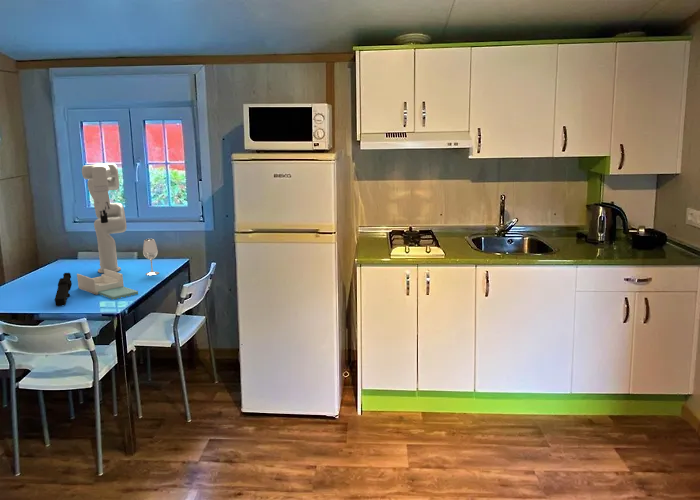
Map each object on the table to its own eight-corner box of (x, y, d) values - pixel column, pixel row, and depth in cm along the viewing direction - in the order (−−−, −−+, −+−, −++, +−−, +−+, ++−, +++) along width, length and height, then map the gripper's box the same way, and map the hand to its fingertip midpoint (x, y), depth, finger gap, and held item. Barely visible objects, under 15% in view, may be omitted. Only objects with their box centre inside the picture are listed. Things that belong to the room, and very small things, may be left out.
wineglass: (155, 275, 341) (152, 241, 336) (142, 275, 342) (139, 240, 338) (162, 272, 348) (159, 238, 344) (149, 272, 350) (146, 238, 346)
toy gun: (75, 286, 309) (72, 269, 304) (68, 313, 288) (65, 296, 284) (63, 287, 308) (60, 270, 303) (56, 314, 287) (52, 297, 282)
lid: (98, 295, 304) (98, 291, 304) (123, 289, 314) (122, 286, 313) (113, 300, 294) (113, 296, 293) (138, 295, 303) (138, 291, 302)
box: (78, 288, 317) (76, 273, 315) (106, 282, 327) (104, 268, 326) (95, 294, 303) (94, 279, 302) (123, 288, 314) (122, 274, 312)
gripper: (87, 189, 325) (91, 222, 329) (100, 190, 315) (104, 224, 319) (101, 187, 331) (104, 220, 334) (114, 189, 321) (117, 223, 325)
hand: (104, 222), depth 327 cm, fingers closed
